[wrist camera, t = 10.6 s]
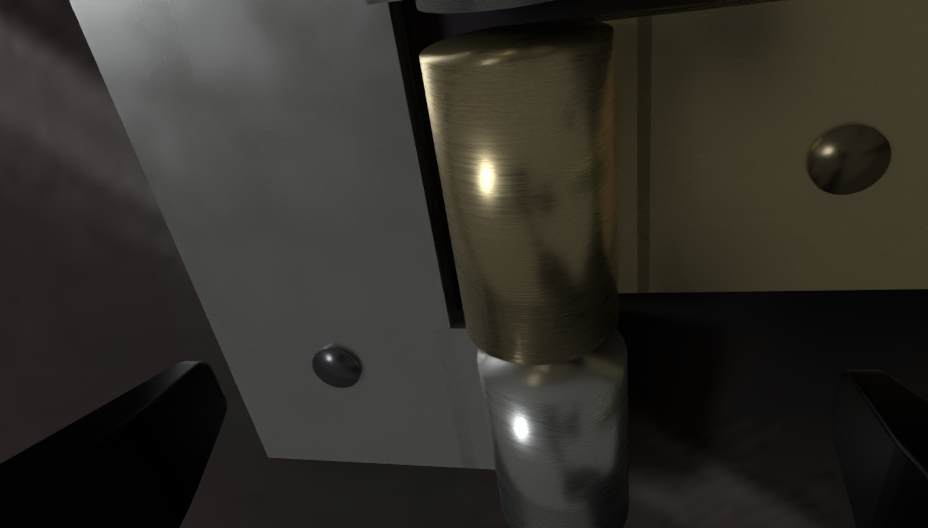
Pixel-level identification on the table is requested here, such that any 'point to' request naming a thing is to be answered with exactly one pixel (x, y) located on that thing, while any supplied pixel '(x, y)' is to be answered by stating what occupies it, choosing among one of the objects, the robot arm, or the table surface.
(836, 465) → the table surface
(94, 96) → the table surface
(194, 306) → the table surface
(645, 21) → the brass hinge leaf
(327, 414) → the steel hinge leaf
